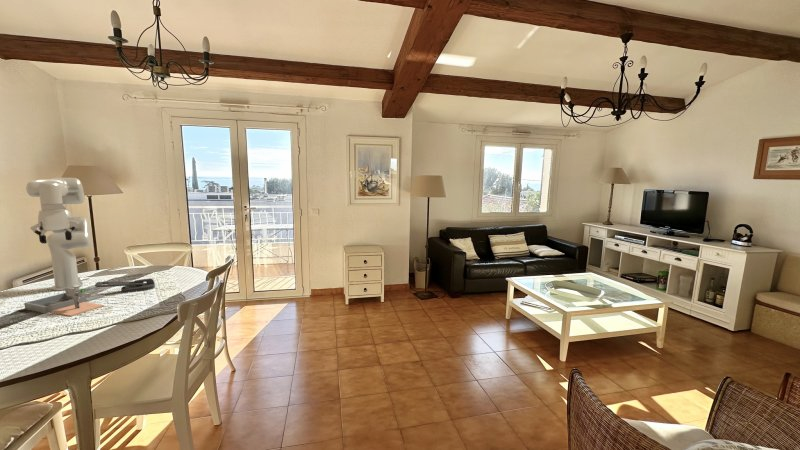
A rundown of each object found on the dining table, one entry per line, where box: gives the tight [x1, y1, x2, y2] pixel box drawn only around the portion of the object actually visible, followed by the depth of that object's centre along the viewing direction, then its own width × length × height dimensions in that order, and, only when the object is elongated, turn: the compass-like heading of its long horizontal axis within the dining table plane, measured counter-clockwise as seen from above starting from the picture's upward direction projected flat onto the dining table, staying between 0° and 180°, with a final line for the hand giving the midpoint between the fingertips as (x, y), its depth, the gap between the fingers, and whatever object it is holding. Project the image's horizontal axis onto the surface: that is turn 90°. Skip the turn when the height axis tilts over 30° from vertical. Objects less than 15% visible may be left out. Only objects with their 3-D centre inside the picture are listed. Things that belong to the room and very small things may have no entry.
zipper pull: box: [94, 277, 156, 294], centre depth 182 cm, size 9×7×25 cm
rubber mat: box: [50, 301, 105, 317], centre depth 156 cm, size 13×14×1 cm
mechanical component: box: [64, 286, 87, 309], centre depth 155 cm, size 3×10×10 cm, turn 77°
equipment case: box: [23, 291, 106, 314], centre depth 164 cm, size 24×16×3 cm, turn 163°
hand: (56, 241), depth 164 cm, fingers open, 9 cm apart
